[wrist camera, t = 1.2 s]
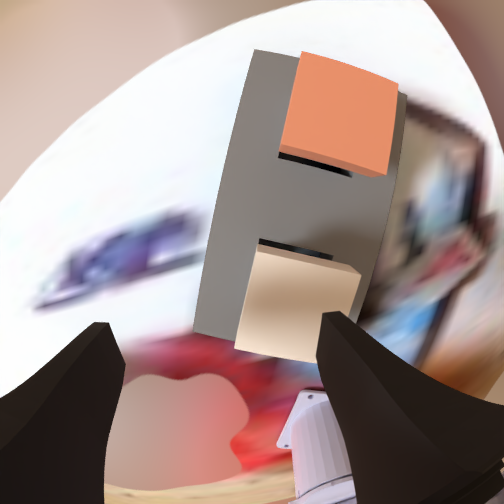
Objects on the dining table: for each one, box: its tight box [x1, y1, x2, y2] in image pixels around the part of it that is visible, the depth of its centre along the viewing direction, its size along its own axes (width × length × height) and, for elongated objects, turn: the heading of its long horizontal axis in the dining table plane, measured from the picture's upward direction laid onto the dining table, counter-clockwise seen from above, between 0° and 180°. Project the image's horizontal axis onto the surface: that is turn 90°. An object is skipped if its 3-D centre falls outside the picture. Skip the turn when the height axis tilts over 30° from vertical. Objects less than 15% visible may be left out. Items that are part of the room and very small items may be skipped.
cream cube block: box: [234, 244, 361, 363], centre depth 14 cm, size 5×5×5 cm
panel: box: [193, 49, 407, 341], centre depth 17 cm, size 10×18×3 cm, turn 167°
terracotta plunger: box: [279, 51, 398, 177], centre depth 12 cm, size 5×5×5 cm
